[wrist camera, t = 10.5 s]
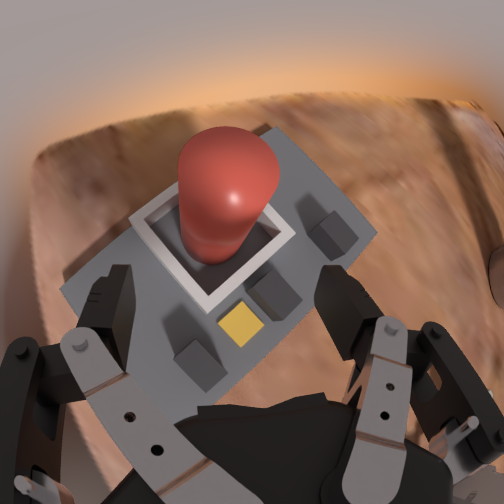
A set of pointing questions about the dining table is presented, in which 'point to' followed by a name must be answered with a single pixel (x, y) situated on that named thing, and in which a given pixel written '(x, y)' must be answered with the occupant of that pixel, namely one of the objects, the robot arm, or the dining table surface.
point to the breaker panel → (225, 283)
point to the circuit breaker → (481, 488)
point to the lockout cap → (223, 190)
